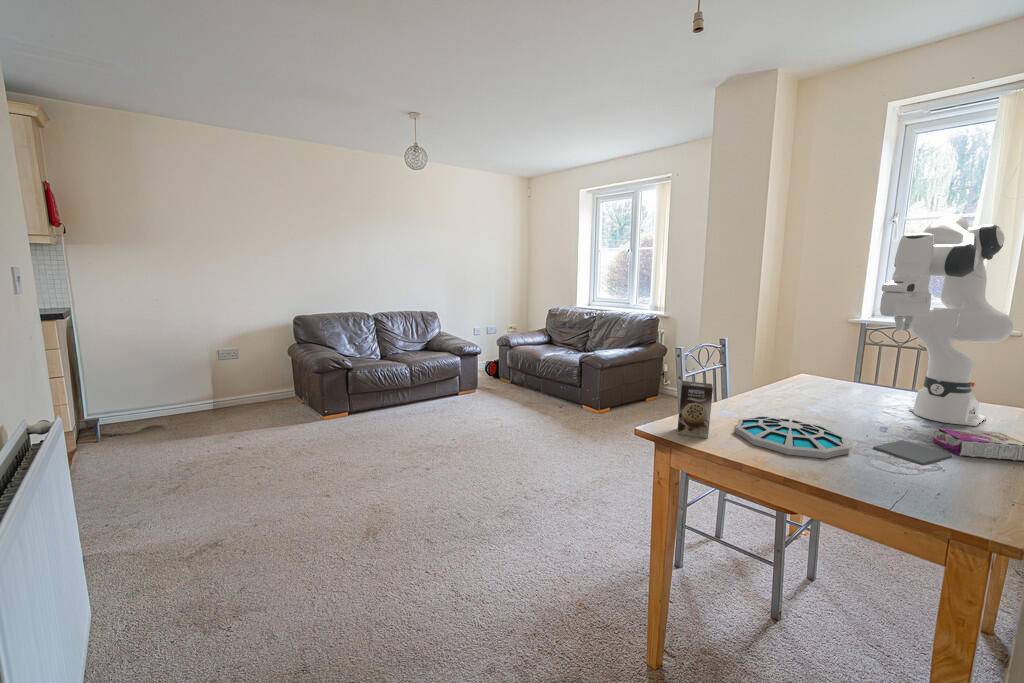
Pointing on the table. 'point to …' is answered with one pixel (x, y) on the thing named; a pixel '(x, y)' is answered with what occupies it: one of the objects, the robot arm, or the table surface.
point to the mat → (912, 452)
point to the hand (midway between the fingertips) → (902, 329)
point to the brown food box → (695, 409)
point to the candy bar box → (980, 444)
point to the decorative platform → (792, 437)
